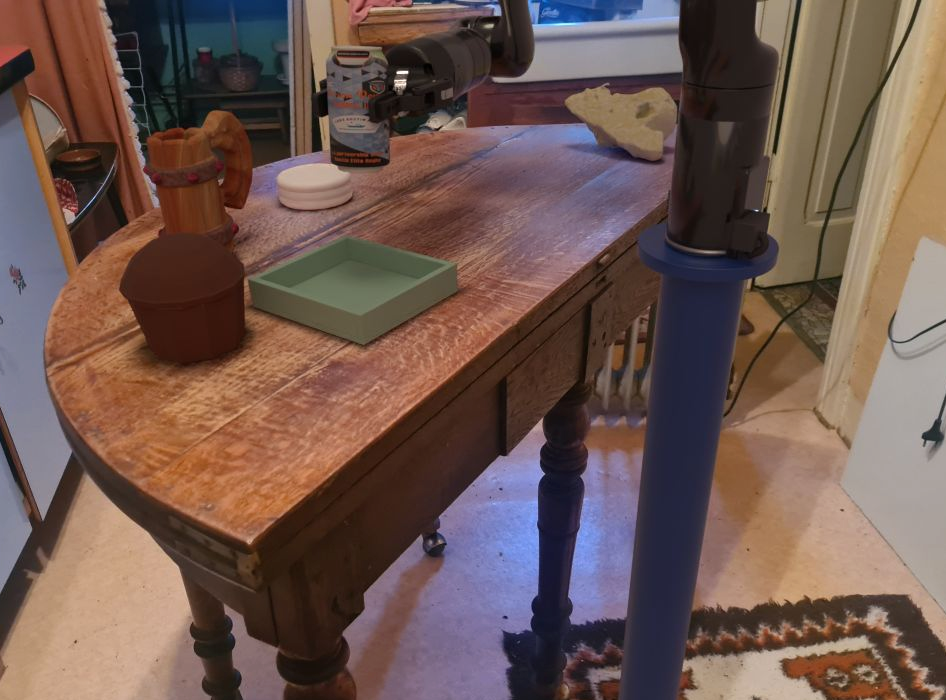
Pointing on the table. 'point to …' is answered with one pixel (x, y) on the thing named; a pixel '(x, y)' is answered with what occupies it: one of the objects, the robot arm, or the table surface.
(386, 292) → the tray
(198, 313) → the muffin
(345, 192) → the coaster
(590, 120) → the cheese
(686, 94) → the robot arm
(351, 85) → the beverage can
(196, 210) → the mug
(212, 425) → the table surface
